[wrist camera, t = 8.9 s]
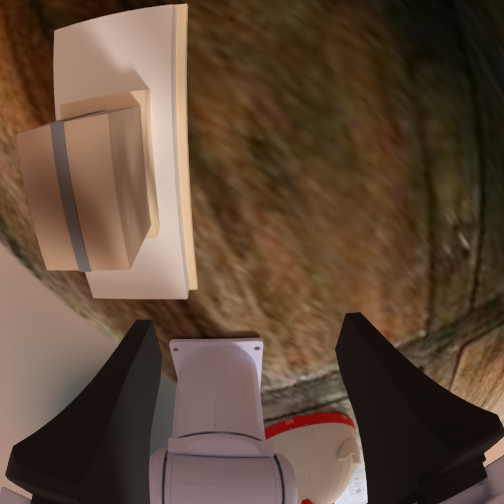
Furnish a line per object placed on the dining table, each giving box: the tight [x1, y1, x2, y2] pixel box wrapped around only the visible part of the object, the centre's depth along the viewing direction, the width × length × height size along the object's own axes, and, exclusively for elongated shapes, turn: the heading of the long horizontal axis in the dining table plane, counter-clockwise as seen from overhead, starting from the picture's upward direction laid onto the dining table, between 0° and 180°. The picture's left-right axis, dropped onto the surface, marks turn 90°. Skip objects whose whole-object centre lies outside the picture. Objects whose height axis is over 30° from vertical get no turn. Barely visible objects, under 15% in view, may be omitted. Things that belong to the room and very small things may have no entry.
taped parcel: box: [16, 90, 161, 272], centre depth 13 cm, size 8×5×6 cm, turn 179°
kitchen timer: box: [264, 413, 361, 504], centre depth 31 cm, size 14×14×15 cm
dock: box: [54, 4, 198, 299], centre depth 16 cm, size 8×19×2 cm, turn 179°
